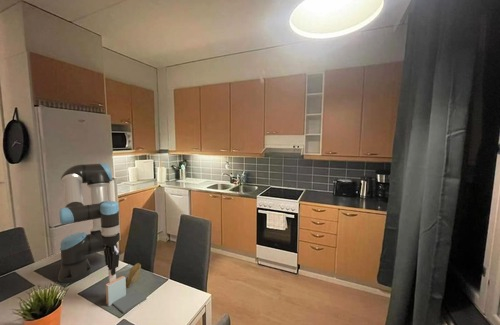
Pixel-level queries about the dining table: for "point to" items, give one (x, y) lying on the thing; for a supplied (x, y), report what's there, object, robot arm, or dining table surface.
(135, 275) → the rock
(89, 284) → the dining table surface
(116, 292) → the tile
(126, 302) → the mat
